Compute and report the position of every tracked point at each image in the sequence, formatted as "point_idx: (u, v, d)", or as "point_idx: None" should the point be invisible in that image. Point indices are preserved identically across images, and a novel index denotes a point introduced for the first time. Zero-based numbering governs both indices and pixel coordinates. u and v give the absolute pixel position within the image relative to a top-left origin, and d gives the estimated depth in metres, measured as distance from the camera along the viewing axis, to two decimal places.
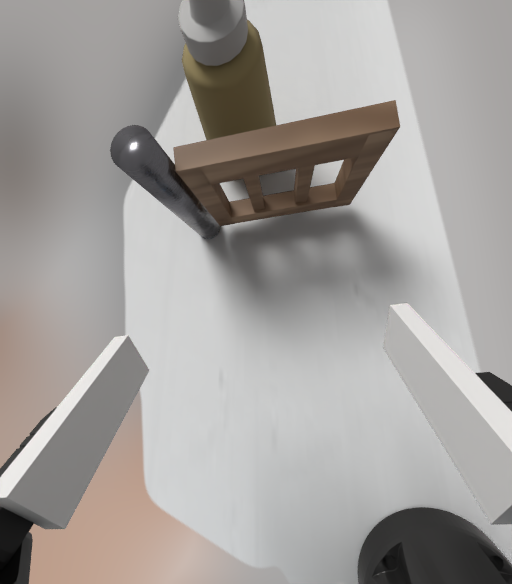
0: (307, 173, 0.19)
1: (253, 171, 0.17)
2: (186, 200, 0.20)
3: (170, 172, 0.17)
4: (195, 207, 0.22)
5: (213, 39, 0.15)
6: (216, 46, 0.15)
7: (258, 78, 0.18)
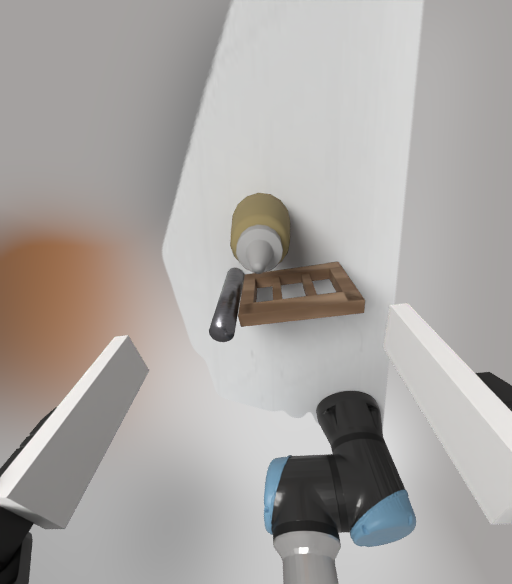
0: None
1: None
2: None
3: None
4: None
5: None
6: None
7: None
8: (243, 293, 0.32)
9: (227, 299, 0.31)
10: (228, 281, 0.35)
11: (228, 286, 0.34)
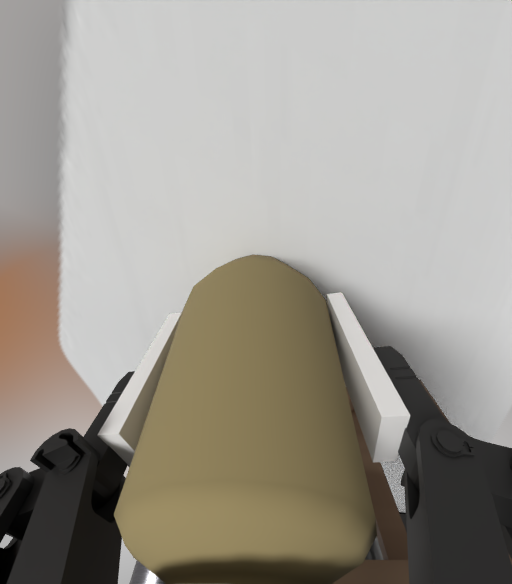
0: None
1: None
2: None
3: None
4: None
5: None
6: None
7: None
8: None
9: None
10: None
11: None
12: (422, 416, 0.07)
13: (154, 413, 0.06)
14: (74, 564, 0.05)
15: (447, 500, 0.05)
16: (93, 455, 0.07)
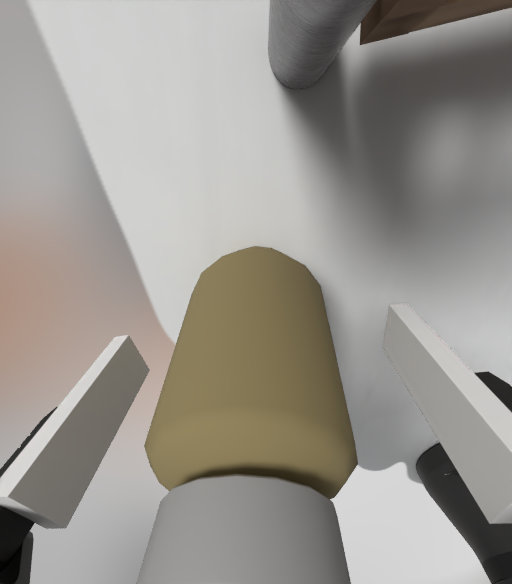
0: None
1: None
2: None
3: None
4: None
5: None
6: None
7: None
8: None
9: None
10: None
11: None
12: None
13: (174, 368, 0.07)
14: None
15: None
16: None
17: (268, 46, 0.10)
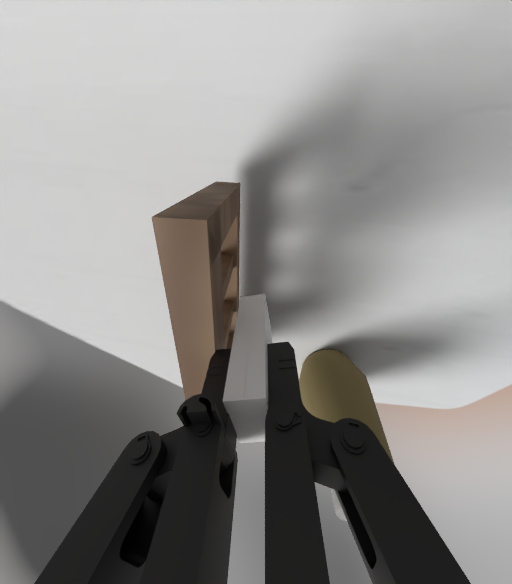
0: None
1: None
2: None
3: None
4: None
5: None
6: None
7: (384, 447, 0.19)
8: None
9: None
10: None
11: None
12: (284, 400, 0.08)
13: None
14: (208, 537, 0.05)
15: (280, 470, 0.06)
16: (222, 427, 0.07)
17: None
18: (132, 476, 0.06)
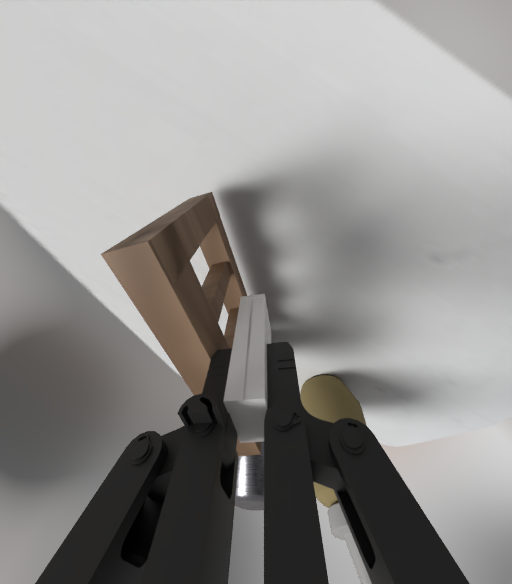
0: (215, 305, 0.14)
1: None
2: None
3: None
4: None
5: None
6: None
7: None
8: None
9: None
10: None
11: None
12: (284, 400, 0.08)
13: None
14: (208, 538, 0.05)
15: (279, 470, 0.06)
16: (223, 427, 0.07)
17: None
18: (133, 476, 0.06)
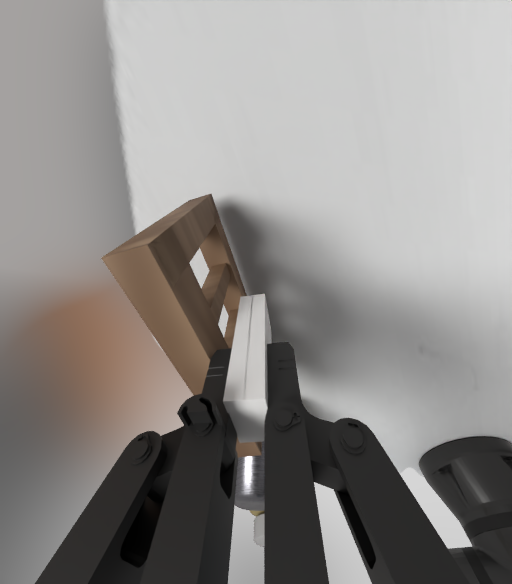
0: (215, 306, 0.14)
1: None
2: None
3: None
4: None
5: None
6: None
7: None
8: None
9: None
10: None
11: None
12: (284, 400, 0.08)
13: None
14: (208, 538, 0.05)
15: (279, 470, 0.06)
16: (222, 427, 0.07)
17: None
18: (133, 476, 0.06)
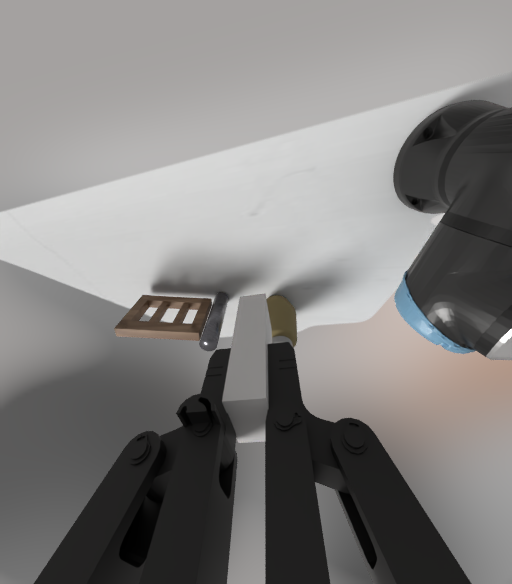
0: (153, 317, 0.44)
1: (171, 325, 0.42)
2: (218, 319, 0.43)
3: (211, 329, 0.40)
4: (219, 312, 0.45)
5: None
6: None
7: (288, 326, 0.42)
8: None
9: None
10: None
11: None
12: (285, 400, 0.08)
13: None
14: (207, 537, 0.05)
15: (280, 470, 0.06)
16: (221, 427, 0.07)
17: None
18: (131, 476, 0.06)
